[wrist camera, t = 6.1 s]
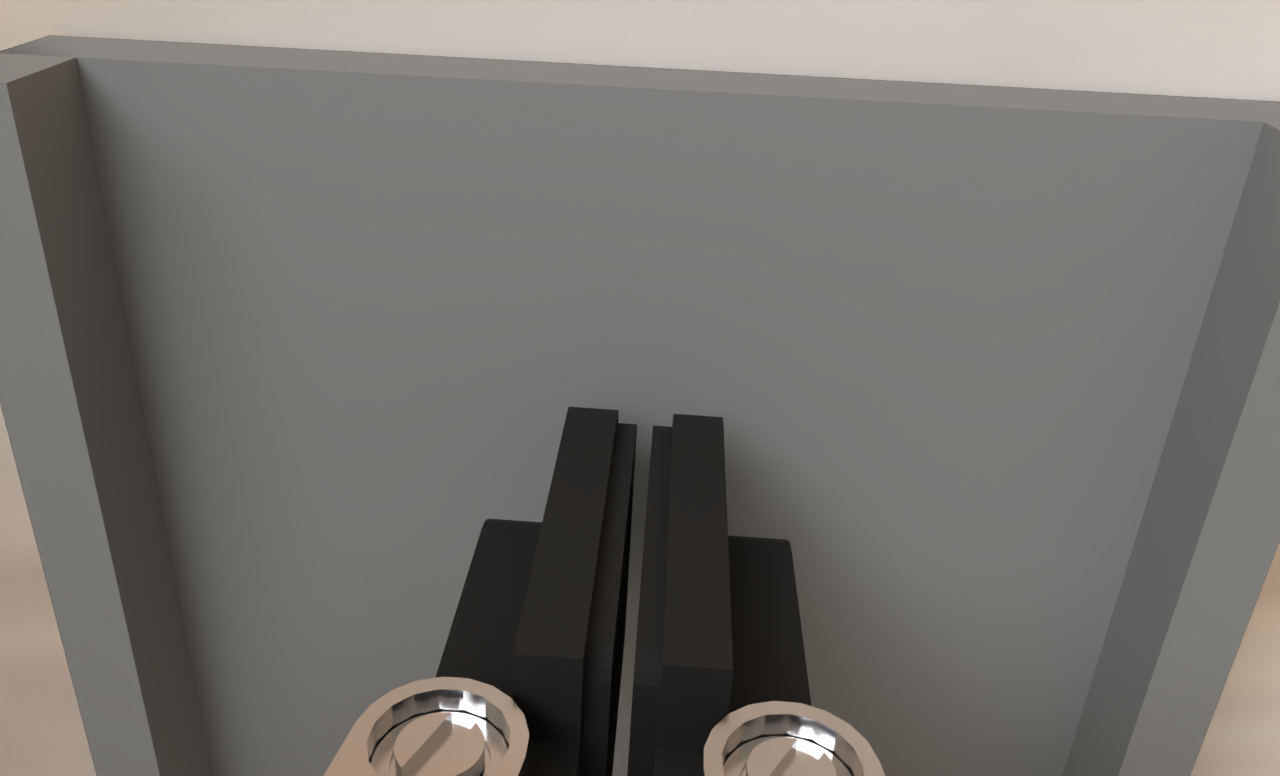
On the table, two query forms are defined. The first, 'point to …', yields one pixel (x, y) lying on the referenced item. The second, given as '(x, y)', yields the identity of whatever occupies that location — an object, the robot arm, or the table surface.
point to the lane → (637, 380)
